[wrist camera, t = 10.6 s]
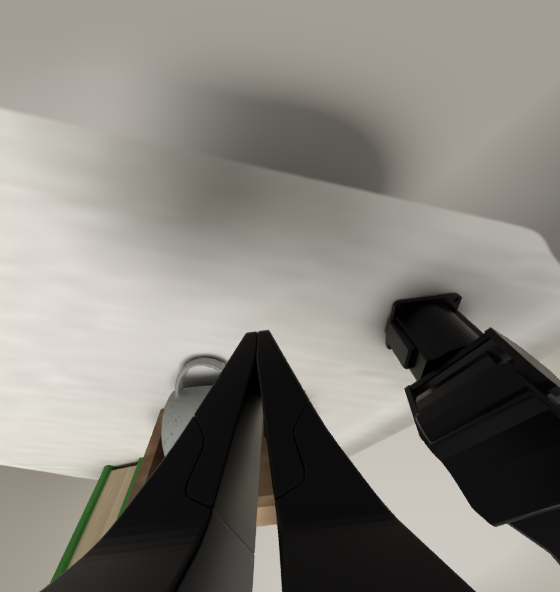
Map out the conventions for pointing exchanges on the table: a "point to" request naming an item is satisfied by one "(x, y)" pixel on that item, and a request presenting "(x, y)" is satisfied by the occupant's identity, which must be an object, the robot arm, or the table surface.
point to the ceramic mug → (184, 403)
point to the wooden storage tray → (265, 491)
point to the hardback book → (99, 512)
